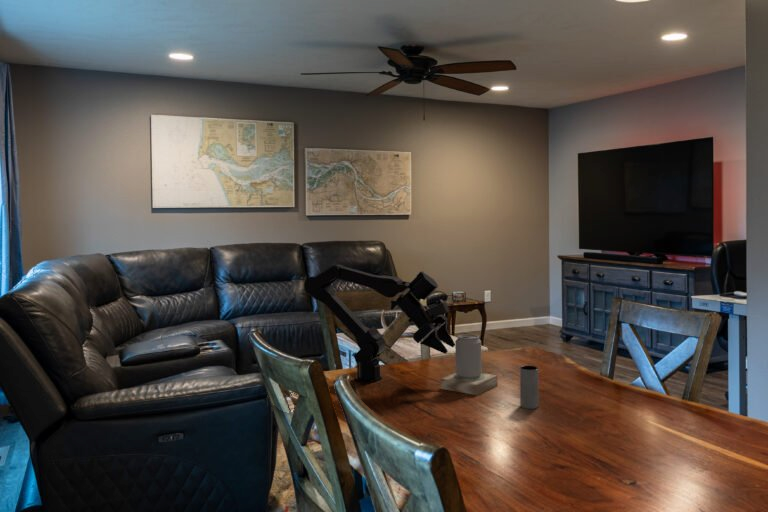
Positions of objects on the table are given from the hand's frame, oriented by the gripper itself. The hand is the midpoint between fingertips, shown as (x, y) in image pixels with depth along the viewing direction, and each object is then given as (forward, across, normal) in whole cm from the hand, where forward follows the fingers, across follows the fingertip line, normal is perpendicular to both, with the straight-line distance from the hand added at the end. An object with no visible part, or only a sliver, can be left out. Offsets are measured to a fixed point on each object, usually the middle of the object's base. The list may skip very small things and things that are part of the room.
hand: (450, 349), depth 180 cm
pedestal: (+12, 0, +4) cm, 12 cm away
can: (+9, 0, +2) cm, 9 cm away
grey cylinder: (+25, -14, -10) cm, 30 cm away
